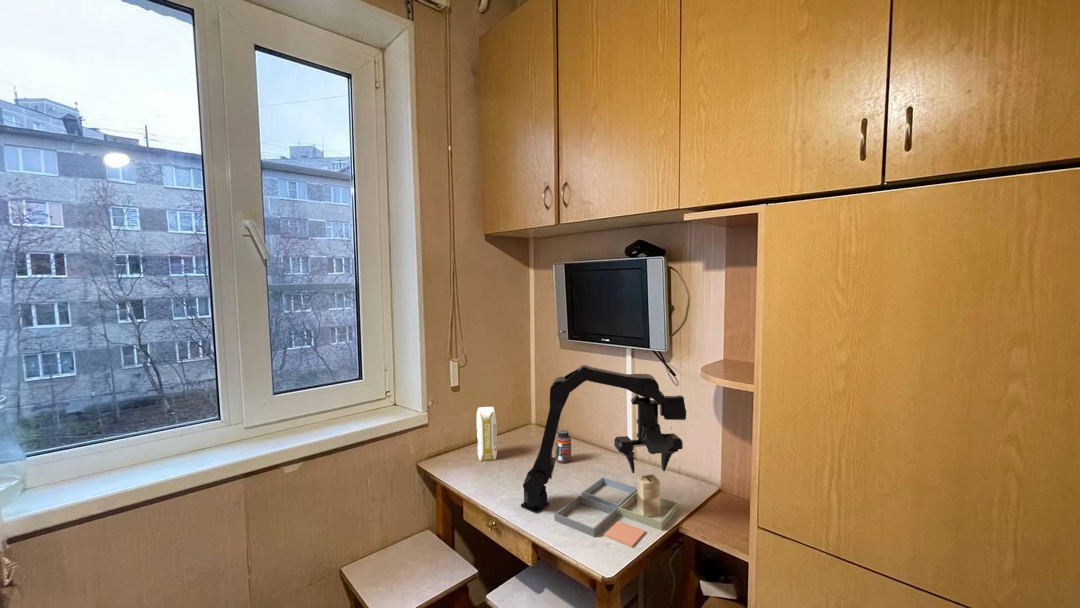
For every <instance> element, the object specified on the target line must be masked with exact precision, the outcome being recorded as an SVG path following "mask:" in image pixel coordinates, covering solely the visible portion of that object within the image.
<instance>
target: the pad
mask: <svg viewBox="0 0 1080 608" xmlns="http://www.w3.org/2000/svg"><path fill="white" fill-rule="evenodd" d="M644 533H645V534H646V530H645V529H643V528H640V527H637V526H635V525H631V524H628V523H626V522H623V521H621V520H618V521H617V522H615V523H614V525H612V526H611V527H610V528H609V529H608V530H607V531H606V532H605V533H604V537H606V538H608V539H611V540H613V541H615V542H618V543H620V544H624V545H626V546H628V547H631V548H633V547H635V545H636V544H637V543H638V541H639V540H640V539H642V537H643V536H644V535H645V534H644ZM643 534H644V535H643ZM642 535H643V536H642ZM641 536H642V537H641ZM635 543H636V544H635ZM634 544H635V545H634Z"/></svg>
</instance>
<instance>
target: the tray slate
mask: <svg viewBox="0 0 1080 608" xmlns="http://www.w3.org/2000/svg"><path fill="white" fill-rule="evenodd" d="M601 485H605V486H609V487H613V488H616V489H618V490H619V489H620V490H622V491H625V492H629V494H628V495H626V496H625V497H624V498H623V499H622V500H620V502H618V503H617V502H614V501H610V500H608V499H605V498H602V497H599V496H597V495H593V494H592V492H594V491H595V490H596V489H598V488H599V487H600V486H601ZM636 491H637V486H633V485H630V484H627V483H623V482H621V481H617V480H614V479H610V478H607V477H605V476H601V477H600V478H599V479H597V480H596V481H594V483H592V484H591V485H589V486H588V487H587V488H585V489H584V490H582V491H581V496H583V497H586V498H589V499H592V500H594V501H597V502H600V503H603V504H606V505H609V506H611V507H614V508H617V512H618V507H619V506H621V505H622V504H623V503H624V502H625V501H626V500H627V499H628V498H629V497H631V496H632V495H633V494H634V493H635V492H636Z"/></svg>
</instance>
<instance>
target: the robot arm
mask: <svg viewBox="0 0 1080 608" xmlns="http://www.w3.org/2000/svg"><path fill="white" fill-rule="evenodd" d="M585 382H591V383H595V384H602V385H606V386H610V387H616V388H621V389H625V390H628V391H630V392H631V393H633V394H634V397H632V398H631V399H630V401H631V404H632V405H637V419H636V424H637V432H636V438H637V439H631V438H630V437H629V436H627V435H625V436H624V435H623V436H622V435H621V436H615V438H614V440H613V441H614V443H613V445H614V447H615V449H616V450H617V451H618V453H620V454H622V455H624V456H625V457H626V460H627V462H628V465H629V468H630V471H631V473H632V474H635V470H636V469H635V461H634V460H635V459H634V457H635V452H634V448H638V447H646V448H647V452H648V453H649V454H650V455H655V454H661V455H660V459H661V460H660V461H661V462H660V463H661V470H662V472H665V471H666V469H667V466H668V464H669V462H670V460H671V459H670V458H671V457H672V455H673V454H675V453H677V452H679V450H683V448H684V447H683V446H684V444H683V440H682V438H680V437H679V436H678V435H677V434H675V433H674V432H673V433H671V432H670V433H662V432H661V425H660V424H659V415H660V417H663V419H664V420H667V421H686V419H687V410H686V404H685V397H684V396H683V395H664V392H662V391H661V390H660V385H659V383H658V382H657V379H655V377H654V376H653V375H651V374H649V373H621V372H616V371H613V370H607V369H602V368H598V367H592V366H589V365H587V364H583V365H580V366H579V367H578V368H576V369H574V370H573V371H571V372H569V373H567V374H566V375H565V376H558V377H556V378H554V380H553V382H552V384H551V385H550V388H549V410H548V415H547V419H546V422H545V428H544V431H543V436H542V440H541V445H540V448H539V451H538V454H537V456H536V459H535V460H534V463H533V466H532V468H531V469H529V471H528V472H527V473H526V476H525V479H524V481H523V484H522V487H523V502H522V503H521V504H520V507H521V508H524V509H526V510H527V511H528V510H529V511H531V512H533V513H536V514H537V513H539V512H541V511H542V510H543V509H545V508H546V507H548V506H549V505H550V501H548V492H547V486H546V484H547V483H548V482H549V480H552V478H553V474H554V469H555V465H556V462H557V461H556V457H553V449H554V444H555V442H556V437H557V433H558V427H559V423H560V421H561V420H560V419H561V416H562V415H561V414H562V411H563V409H564V407H565V405H566V403H567V400H568V398H569V396H570V393H571V392H573V391H574V390H575V389H577V388H579V386H580V385H582V384H583V383H585Z"/></svg>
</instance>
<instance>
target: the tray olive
mask: <svg viewBox="0 0 1080 608" xmlns="http://www.w3.org/2000/svg"><path fill="white" fill-rule="evenodd" d="M635 501H637V491H636V492H635V493H634V494H633V495H632V496H631V497H629V498H628V499H627V500H626V501H625V502H624V503H623V504H622V505H621V506H619V507H618V511H617V516H618V515H619V516H621V517H624V518H626V519H629V520H632V521H635V522H637V521H638V523H640V522H641V524H643V523H644V525H646V526H648V525H649V527H651V526H652V527H651V528H654V529H657V530H659V529H660V531H662V530H663V529H664V528H665V526H667V524H668V523H669V521H670V520H671V519H672V518H673V517H674V516H675V514H677V512H678V511H679V506H680V505H679V504H680V503H679V502H677V501H674V500H670V499H667V498H663V497H661V496H660V506H663V507H667V508H670V510H669V511H668V512H667V513H666V514H665V515H664V516H663V518H662V519H661V520H658V519H654V518H653V517H646V516H643V515H641V513H637V512H635V511H631V510H629V509H628V508H629V507H630V506H631V505H632V504H634V503H635Z"/></svg>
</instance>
